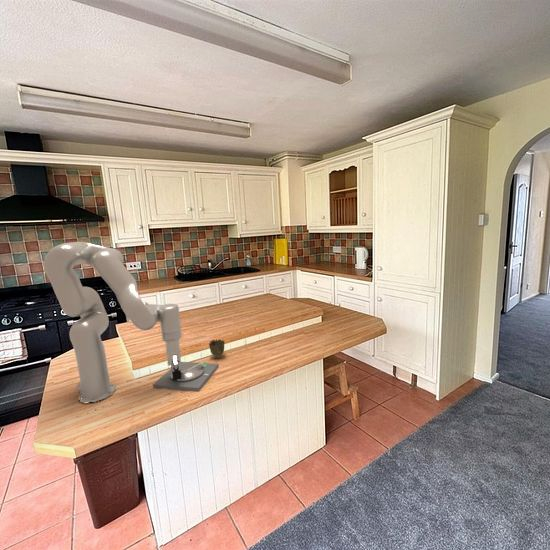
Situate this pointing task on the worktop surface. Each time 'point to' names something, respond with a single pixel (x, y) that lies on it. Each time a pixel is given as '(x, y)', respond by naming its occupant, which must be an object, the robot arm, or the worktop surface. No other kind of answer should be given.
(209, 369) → the plate
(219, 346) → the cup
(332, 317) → the worktop surface
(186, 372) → the dial
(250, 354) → the worktop surface
